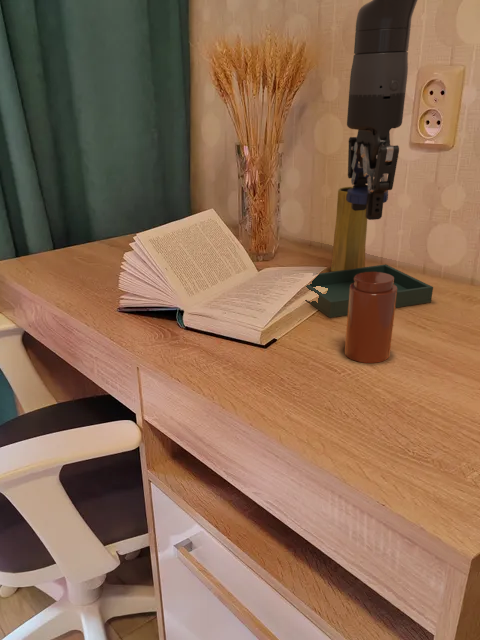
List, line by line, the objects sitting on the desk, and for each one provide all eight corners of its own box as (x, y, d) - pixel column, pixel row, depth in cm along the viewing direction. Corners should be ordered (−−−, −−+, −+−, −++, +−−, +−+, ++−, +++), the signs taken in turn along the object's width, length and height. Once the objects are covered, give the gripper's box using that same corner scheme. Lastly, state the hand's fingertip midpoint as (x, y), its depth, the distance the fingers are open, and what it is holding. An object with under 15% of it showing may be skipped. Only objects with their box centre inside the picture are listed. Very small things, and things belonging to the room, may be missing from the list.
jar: (373, 342, 80) (380, 268, 75) (398, 358, 75) (408, 280, 71) (336, 349, 79) (341, 274, 74) (360, 366, 74) (367, 287, 69)
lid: (342, 203, 88) (343, 193, 87) (351, 196, 93) (351, 186, 92) (383, 205, 86) (384, 194, 85) (389, 197, 90) (391, 187, 90)
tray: (384, 278, 103) (386, 264, 102) (431, 302, 92) (433, 286, 91) (292, 291, 100) (293, 276, 99) (329, 318, 88) (330, 302, 87)
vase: (343, 263, 112) (349, 184, 105) (371, 269, 108) (379, 188, 101) (323, 271, 108) (328, 190, 102) (352, 278, 104) (359, 193, 98)
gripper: (334, 90, 88) (327, 206, 96) (368, 93, 76) (357, 227, 84) (384, 88, 89) (373, 203, 97) (426, 90, 76) (409, 223, 84)
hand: (365, 213), depth 90 cm, fingers closed on lid, 5 cm apart
